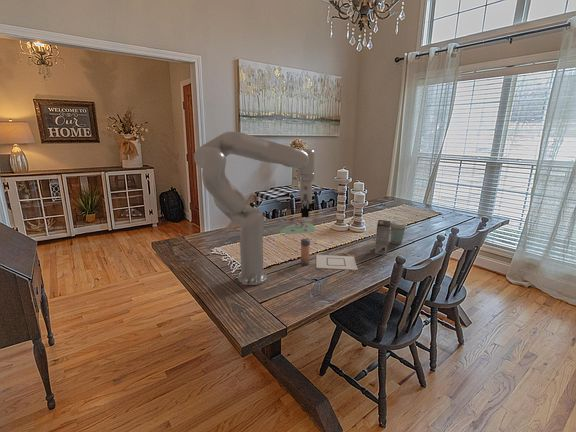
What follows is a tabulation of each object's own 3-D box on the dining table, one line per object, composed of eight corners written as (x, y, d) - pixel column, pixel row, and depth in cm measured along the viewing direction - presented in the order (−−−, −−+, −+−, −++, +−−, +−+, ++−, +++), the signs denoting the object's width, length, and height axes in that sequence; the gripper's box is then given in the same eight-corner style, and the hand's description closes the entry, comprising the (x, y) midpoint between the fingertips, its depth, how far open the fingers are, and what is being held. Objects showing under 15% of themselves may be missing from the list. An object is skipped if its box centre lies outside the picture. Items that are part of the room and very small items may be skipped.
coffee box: (376, 247, 168) (378, 219, 163) (388, 249, 166) (391, 220, 161) (374, 253, 160) (376, 224, 155) (386, 255, 157) (390, 225, 153)
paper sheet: (357, 270, 141) (357, 269, 140) (316, 268, 142) (316, 267, 142) (353, 257, 155) (353, 256, 155) (316, 255, 157) (316, 254, 157)
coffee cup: (390, 239, 181) (392, 219, 177) (405, 241, 176) (407, 222, 173) (386, 243, 174) (388, 223, 170) (402, 246, 169) (404, 226, 166)
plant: (295, 238, 182) (295, 224, 180) (272, 230, 196) (272, 217, 194) (322, 229, 199) (322, 216, 197) (299, 222, 213) (299, 210, 211)
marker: (309, 265, 145) (309, 242, 142) (300, 265, 145) (300, 241, 142) (309, 261, 149) (310, 238, 146) (300, 261, 149) (301, 238, 146)
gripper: (314, 180, 127) (313, 219, 132) (314, 174, 144) (313, 209, 149) (296, 180, 128) (296, 219, 133) (298, 174, 144) (298, 209, 149)
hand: (305, 214), depth 141 cm, fingers open, 9 cm apart
